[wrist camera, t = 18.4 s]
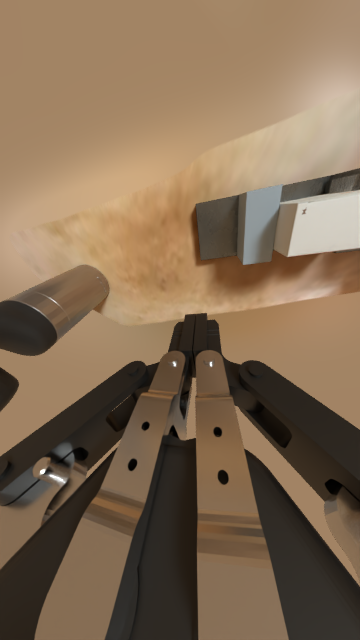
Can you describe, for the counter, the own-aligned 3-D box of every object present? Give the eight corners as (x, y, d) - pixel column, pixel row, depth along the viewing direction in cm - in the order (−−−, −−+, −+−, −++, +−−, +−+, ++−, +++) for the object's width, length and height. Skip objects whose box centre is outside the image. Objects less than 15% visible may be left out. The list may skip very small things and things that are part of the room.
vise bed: (201, 257, 33) (199, 270, 26) (196, 204, 28) (193, 203, 21) (332, 239, 28) (370, 248, 21) (355, 170, 23) (413, 156, 16)
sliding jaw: (236, 255, 30) (243, 264, 25) (238, 194, 25) (246, 191, 20) (260, 252, 29) (271, 261, 24) (266, 189, 24) (282, 184, 19)
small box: (260, 243, 28) (284, 258, 19) (265, 204, 25) (296, 202, 16) (312, 236, 26) (363, 249, 18) (324, 193, 23) (393, 185, 15)
